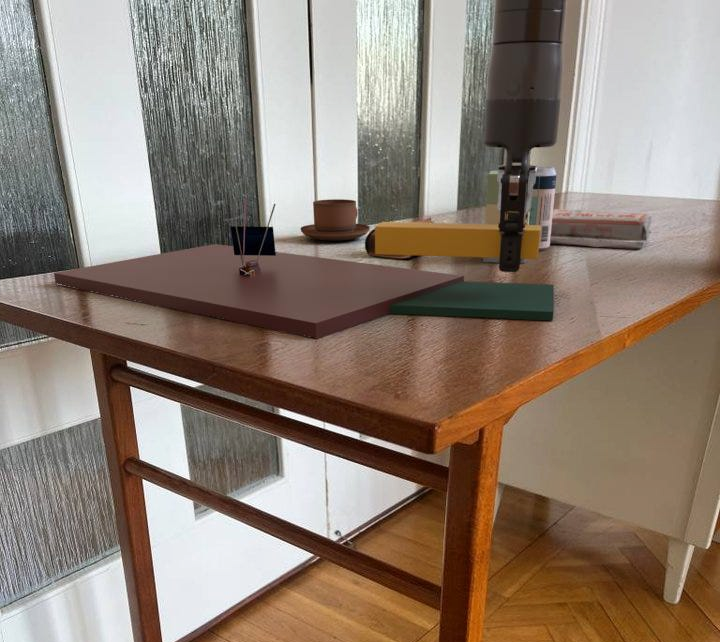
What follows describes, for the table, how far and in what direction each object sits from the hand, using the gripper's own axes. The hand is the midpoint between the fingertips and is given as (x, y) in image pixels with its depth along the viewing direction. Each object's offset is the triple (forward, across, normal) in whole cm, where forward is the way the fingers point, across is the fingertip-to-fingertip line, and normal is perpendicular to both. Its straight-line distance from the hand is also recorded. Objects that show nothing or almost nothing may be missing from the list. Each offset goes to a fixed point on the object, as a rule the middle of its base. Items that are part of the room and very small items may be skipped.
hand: (510, 266), depth 84 cm
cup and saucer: (+4, +44, +32) cm, 55 cm away
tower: (+4, +29, +2) cm, 29 cm away
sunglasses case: (+4, +35, +16) cm, 39 cm away
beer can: (+4, +39, -2) cm, 39 cm away
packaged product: (+4, +47, -11) cm, 48 cm away
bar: (-1, 0, +6) cm, 6 cm away
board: (+4, +4, +32) cm, 33 cm away
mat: (+4, 0, +6) cm, 7 cm away
